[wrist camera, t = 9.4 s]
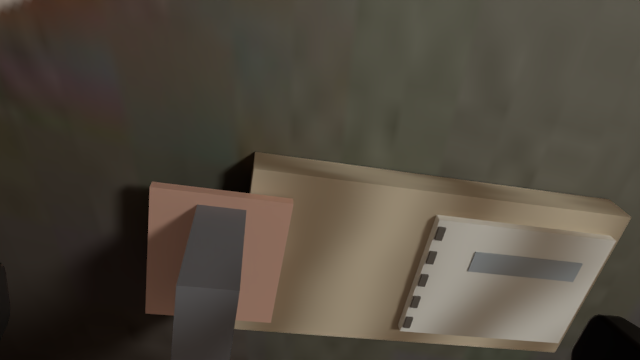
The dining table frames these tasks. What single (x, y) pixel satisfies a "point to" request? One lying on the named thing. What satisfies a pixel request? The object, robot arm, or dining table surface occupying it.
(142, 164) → the dining table surface
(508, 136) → the dining table surface
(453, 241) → the ticket board
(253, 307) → the stub
